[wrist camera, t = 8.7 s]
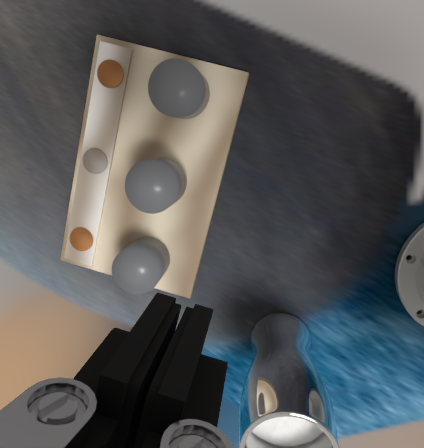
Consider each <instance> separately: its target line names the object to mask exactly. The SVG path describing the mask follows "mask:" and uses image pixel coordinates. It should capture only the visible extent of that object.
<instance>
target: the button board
mask: <svg viewBox="0 0 424 448" xmlns="http://www.w3.org/2000/svg"><path fill="white" fill-rule="evenodd" d="M172 58H178V59H183V60H185V61H187V62H189V63H191V64H192V65H193V66H194V67H195V68H196V69H197V70H198V71H199V72H200V73H201V74H202V75H203V76H204V77H205V79H206V80H207V82H208V85H209V90H210V96H209V101H208V104H207V106H206V108H205V109H204V110H203V112H202V113H200V114H199V115H198V116H196V117H194V118H190V119H181V118H175V117H170V116H167V115H164V114H162V113H161V112H159V111H158V110H157V109H156V108H155V107H154V105H153V104H152V102H151V100H150V97H149V93H148V81H149V78H150V75H151V73H152V71H153V70H154V68H155V67H156V66H157V65H158V64H160V63H161V62H163V61H165V60H167V59H172ZM248 77H249V73H248V72H244V71H241V70H237V69H233V68H229V67H225V66H221V65H217V64H213V63H209V62H205V61H201V60H197V59H193V58H189V57H185V56H181V55H177V54H173V53H169V52H165V51H161V50H157V49H153V48H149V47H145V46H141V45H137V44H133V43H129V42H125V41H121V40H117V39H113V38H109V37H105V36H101V35H97V37H96V44H95V50H94V56H93V62H92V68H91V74H90V81H89V87H88V93H87V99H86V105H85V111H84V118H83V124H82V130H81V136H80V142H79V148H78V155H77V161H76V167H75V173H74V179H73V185H72V192H71V198H70V204H69V210H68V216H67V222H66V229H65V235H64V241H63V247H62V253H61V259H60V260H62V261H65V262H69V263H72V264H75V265H79V266H82V267H86V268H89V269H92V270H96V271H99V272H102V273H106V274H109V275H112V263H113V261H114V259H115V257H116V256H117V255H118V254H119V253H120V252H121V251H122V250H124V249H125V248H126V247H127V246H129V245H130V244H131V243H132V242H134V241H135V240H136V239H139V238H141V237H152V238H155V239H157V240H159V241H161V242H162V243H163V244H164V245H165V246H166V248H167V250H168V252H169V255H170V264H169V267H168V269H167V271H166V272H165V274H164V275H163V277H162V278H161V279H160V281H159V282H158V283H157V285H156V286H155V287H154V288H156V289H160V290H163V291H166V292H170V293H173V294H176V295H180V296H183V297H187V298H191V295H192V292H193V288H194V285H195V281H196V277H197V273H198V269H199V265H200V262H201V258H202V254H203V250H204V246H205V242H206V239H207V235H208V231H209V227H210V223H211V219H212V215H213V212H214V208H215V204H216V200H217V196H218V192H219V189H220V185H221V181H222V177H223V173H224V169H225V166H226V162H227V158H228V154H229V150H230V146H231V143H232V139H233V135H234V131H235V127H236V123H237V120H238V116H239V112H240V108H241V104H242V100H243V97H244V93H245V89H246V85H247V81H248ZM159 157H166V158H170V159H172V160H174V161H176V162H177V163H178V164H179V165H180V166H181V167H182V168H183V170H184V172H185V175H186V179H187V186H186V190H185V192H184V194H183V196H182V197H181V198H180V199H179V200H178V201H177V202H175V203H174V204H173V205H171V206H170V207H169V208H167V209H166V210H164V211H162V212H160V213H155V214H150V213H145V212H142V211H140V210H138V209H137V208H135V207H134V206H133V205H132V204H131V203H130V201H129V199H128V198H127V195H126V192H125V179H126V176H127V173H128V172H129V170H130V169H131V168H132V167H133V166H134V165H135V164H137V163H139V162H141V161H144V160H149V159H154V158H159Z"/></svg>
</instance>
